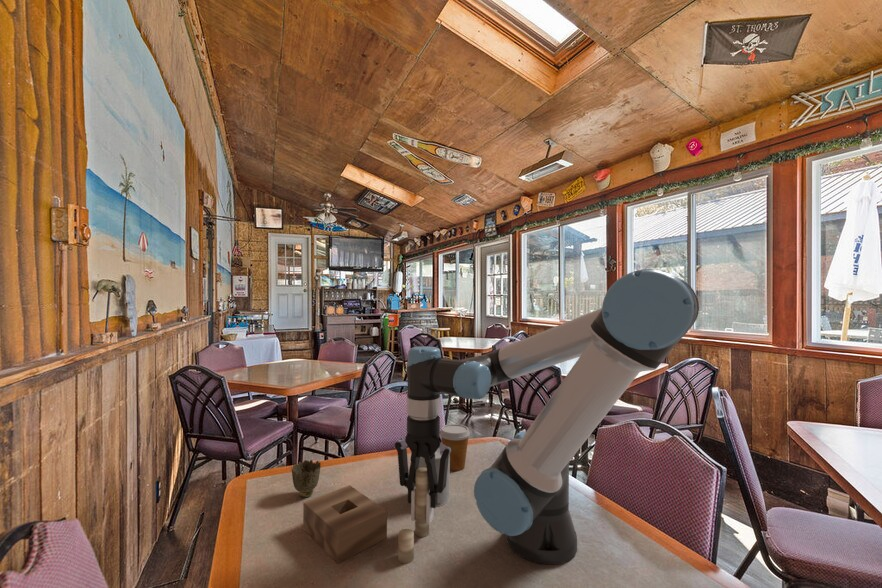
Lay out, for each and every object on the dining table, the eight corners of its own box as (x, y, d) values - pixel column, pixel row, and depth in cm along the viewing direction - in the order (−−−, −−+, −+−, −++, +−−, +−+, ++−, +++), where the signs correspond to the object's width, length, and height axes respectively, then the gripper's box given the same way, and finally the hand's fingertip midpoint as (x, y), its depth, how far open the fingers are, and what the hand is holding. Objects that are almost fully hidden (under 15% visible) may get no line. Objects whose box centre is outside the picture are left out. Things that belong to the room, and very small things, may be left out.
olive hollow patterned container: (284, 499, 101) (285, 468, 101) (303, 486, 108) (303, 457, 108) (308, 504, 98) (308, 473, 98) (326, 491, 105) (326, 461, 105)
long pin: (432, 532, 87) (432, 470, 87) (421, 538, 85) (421, 475, 85) (422, 526, 89) (423, 466, 89) (412, 532, 87) (412, 470, 87)
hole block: (386, 538, 85) (387, 510, 85) (337, 563, 77) (338, 533, 77) (349, 509, 96) (349, 485, 96) (303, 528, 88) (303, 502, 88)
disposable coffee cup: (474, 464, 123) (475, 427, 123) (460, 476, 115) (460, 436, 115) (449, 458, 128) (449, 421, 128) (433, 468, 120) (434, 430, 120)
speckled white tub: (446, 509, 97) (446, 460, 97) (409, 504, 99) (410, 456, 99) (452, 490, 106) (452, 446, 106) (419, 487, 108) (419, 443, 108)
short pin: (416, 558, 78) (417, 533, 78) (404, 565, 76) (404, 540, 76) (407, 550, 81) (407, 527, 81) (394, 557, 78) (395, 533, 79)
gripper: (461, 414, 88) (460, 517, 88) (398, 407, 93) (397, 504, 93) (452, 424, 81) (450, 536, 81) (384, 416, 86) (383, 521, 86)
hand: (422, 518), depth 87 cm, fingers closed on long pin, 3 cm apart
